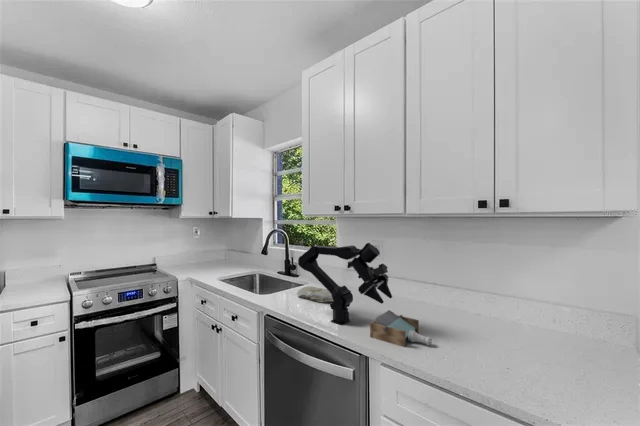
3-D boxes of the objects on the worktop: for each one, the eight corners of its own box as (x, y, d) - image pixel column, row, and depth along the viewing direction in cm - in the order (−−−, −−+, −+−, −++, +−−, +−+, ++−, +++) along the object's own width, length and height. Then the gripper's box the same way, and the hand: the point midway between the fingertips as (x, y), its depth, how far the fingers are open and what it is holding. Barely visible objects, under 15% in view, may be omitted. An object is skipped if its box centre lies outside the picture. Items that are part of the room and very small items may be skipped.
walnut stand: (369, 337, 114) (369, 322, 114) (387, 325, 126) (387, 311, 126) (403, 347, 105) (403, 331, 105) (419, 333, 117) (419, 319, 118)
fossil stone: (346, 301, 162) (346, 291, 162) (330, 307, 151) (330, 297, 151) (309, 292, 180) (309, 283, 180) (292, 297, 169) (292, 288, 169)
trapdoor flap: (374, 321, 114) (376, 317, 114) (387, 313, 124) (389, 309, 123) (402, 342, 107) (404, 338, 107) (413, 332, 117) (415, 328, 116)
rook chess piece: (410, 339, 112) (431, 345, 108) (407, 342, 109) (429, 350, 104) (411, 327, 112) (433, 334, 108) (408, 330, 109) (430, 337, 104)
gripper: (365, 260, 113) (392, 293, 107) (384, 255, 128) (408, 284, 122) (347, 277, 117) (372, 310, 111) (368, 271, 133) (390, 299, 126)
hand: (387, 300), depth 117 cm, fingers open, 9 cm apart
